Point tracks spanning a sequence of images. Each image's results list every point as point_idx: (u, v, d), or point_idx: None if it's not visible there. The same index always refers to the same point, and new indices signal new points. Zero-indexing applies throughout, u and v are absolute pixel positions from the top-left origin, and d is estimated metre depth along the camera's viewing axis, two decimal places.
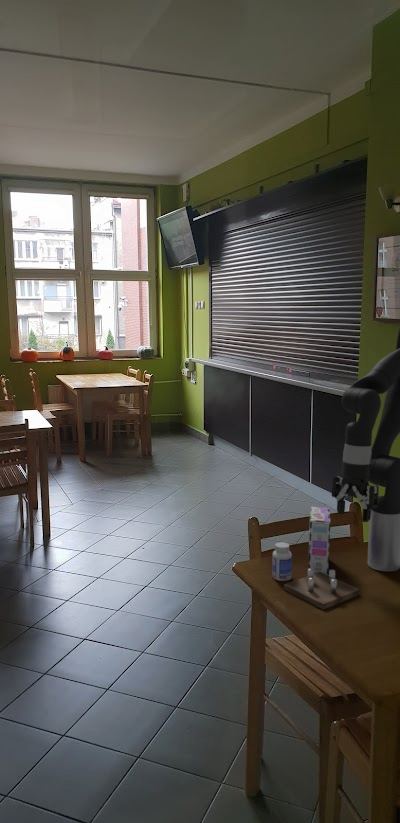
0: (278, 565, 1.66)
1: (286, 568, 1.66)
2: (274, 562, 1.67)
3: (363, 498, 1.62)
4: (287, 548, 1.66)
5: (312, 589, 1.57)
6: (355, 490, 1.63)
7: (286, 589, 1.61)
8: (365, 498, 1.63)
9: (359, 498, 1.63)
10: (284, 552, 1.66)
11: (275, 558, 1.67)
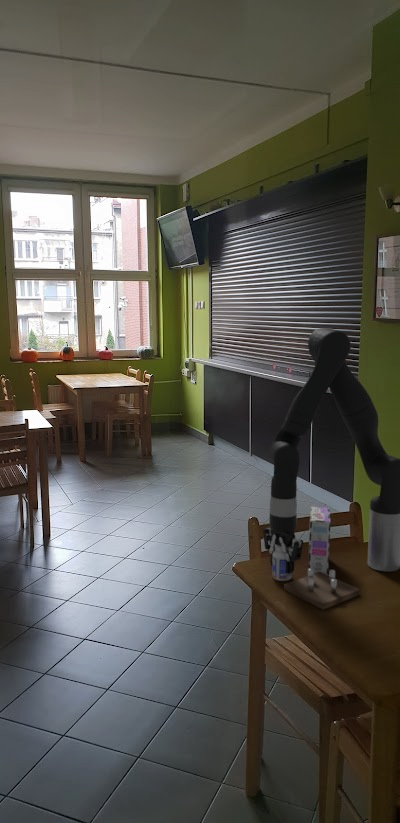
0: (278, 565, 1.66)
1: None
2: (274, 562, 1.67)
3: (287, 551, 1.65)
4: (287, 548, 1.66)
5: (312, 589, 1.57)
6: (281, 541, 1.65)
7: (286, 589, 1.61)
8: (289, 550, 1.65)
9: (284, 550, 1.65)
10: None
11: (275, 558, 1.67)
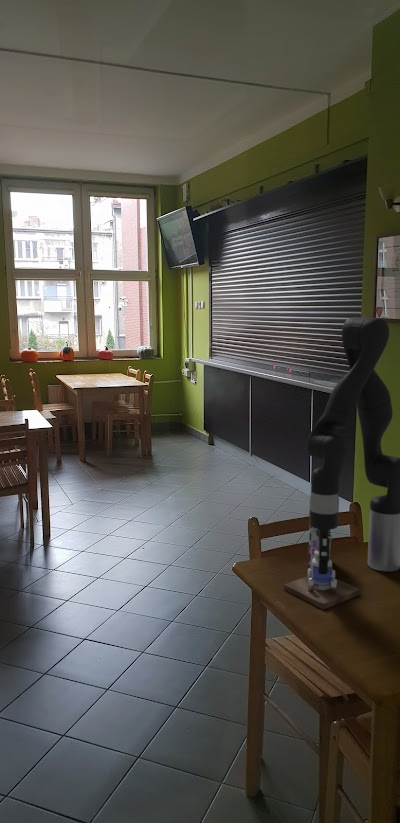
0: (312, 571, 1.59)
1: (318, 576, 1.57)
2: None
3: None
4: None
5: (312, 589, 1.57)
6: None
7: (286, 589, 1.61)
8: None
9: None
10: None
11: None
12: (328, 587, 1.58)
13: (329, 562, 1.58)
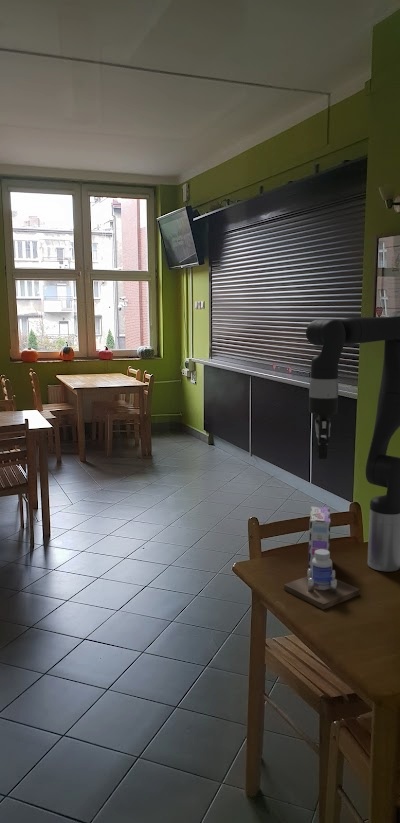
0: (312, 571, 1.59)
1: (318, 576, 1.57)
2: None
3: (319, 433, 1.56)
4: (322, 556, 1.57)
5: (312, 589, 1.57)
6: (315, 425, 1.58)
7: (286, 589, 1.61)
8: (322, 434, 1.56)
9: (316, 433, 1.57)
10: (319, 559, 1.58)
11: None
12: (328, 587, 1.58)
13: (329, 562, 1.58)
